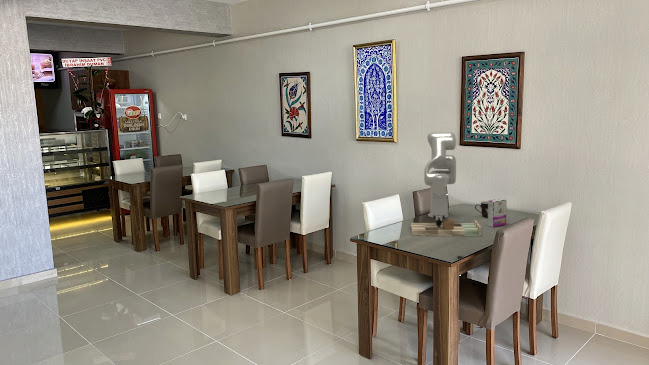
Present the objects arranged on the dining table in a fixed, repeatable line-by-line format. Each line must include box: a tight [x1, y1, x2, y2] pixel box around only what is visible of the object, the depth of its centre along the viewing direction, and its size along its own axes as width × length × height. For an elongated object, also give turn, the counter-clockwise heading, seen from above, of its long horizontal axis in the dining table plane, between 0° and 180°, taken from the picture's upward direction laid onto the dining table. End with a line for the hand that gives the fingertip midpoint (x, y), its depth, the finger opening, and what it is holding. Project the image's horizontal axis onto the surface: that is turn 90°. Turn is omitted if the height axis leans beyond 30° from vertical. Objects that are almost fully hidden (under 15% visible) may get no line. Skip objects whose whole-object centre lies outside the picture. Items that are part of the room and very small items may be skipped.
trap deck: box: [410, 219, 482, 237], centre depth 291 cm, size 19×39×6 cm, turn 82°
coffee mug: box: [474, 200, 489, 219], centre depth 326 cm, size 12×9×10 cm
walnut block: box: [442, 218, 455, 230], centre depth 287 cm, size 6×6×5 cm
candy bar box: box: [487, 198, 507, 228], centre depth 302 cm, size 11×5×16 cm, turn 117°
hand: (438, 226), depth 288 cm, fingers closed
